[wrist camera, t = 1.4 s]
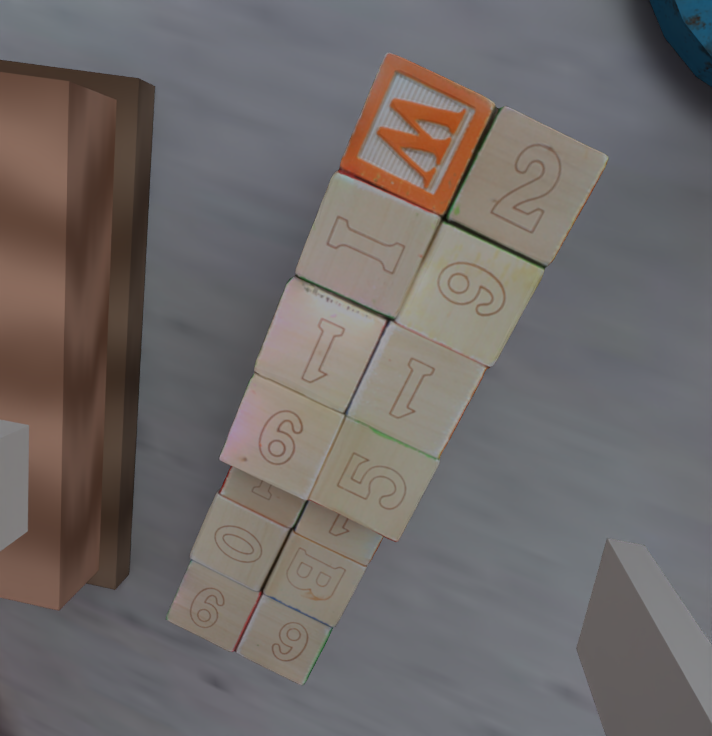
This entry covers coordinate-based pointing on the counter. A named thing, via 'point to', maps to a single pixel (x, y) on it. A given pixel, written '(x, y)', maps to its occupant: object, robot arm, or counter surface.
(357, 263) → the stack of blocks
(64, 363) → the base brick
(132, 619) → the counter surface
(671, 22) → the desk lamp
